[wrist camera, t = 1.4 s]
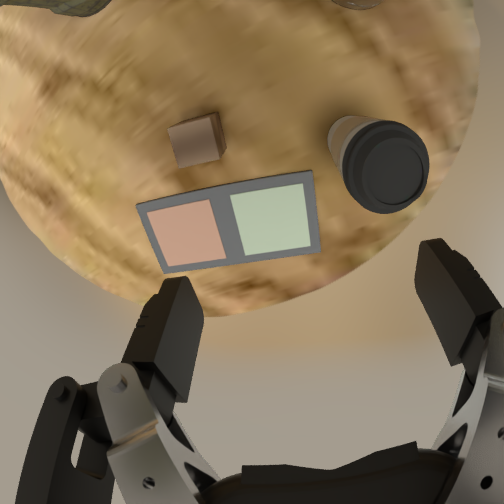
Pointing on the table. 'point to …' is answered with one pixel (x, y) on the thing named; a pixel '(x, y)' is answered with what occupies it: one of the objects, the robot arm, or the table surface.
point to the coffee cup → (379, 162)
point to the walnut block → (197, 140)
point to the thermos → (63, 6)
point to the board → (234, 223)
